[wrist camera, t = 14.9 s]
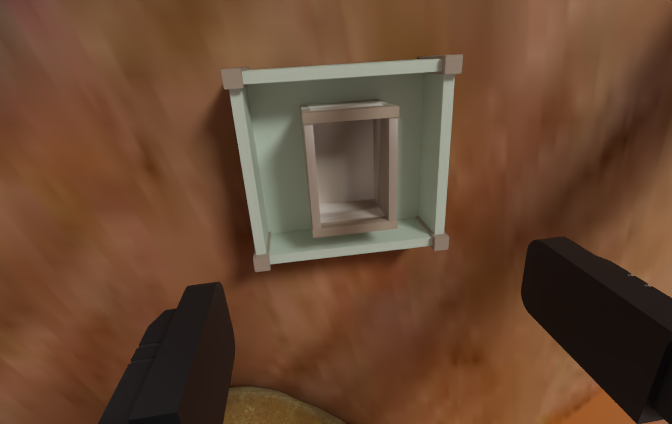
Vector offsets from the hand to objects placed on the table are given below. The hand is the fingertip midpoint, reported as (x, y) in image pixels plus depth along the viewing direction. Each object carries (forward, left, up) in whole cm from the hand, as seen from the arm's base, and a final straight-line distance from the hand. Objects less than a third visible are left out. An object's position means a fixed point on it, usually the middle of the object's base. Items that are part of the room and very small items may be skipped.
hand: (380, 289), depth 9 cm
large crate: (-2, +2, -23) cm, 23 cm away
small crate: (-2, +2, -22) cm, 22 cm away
